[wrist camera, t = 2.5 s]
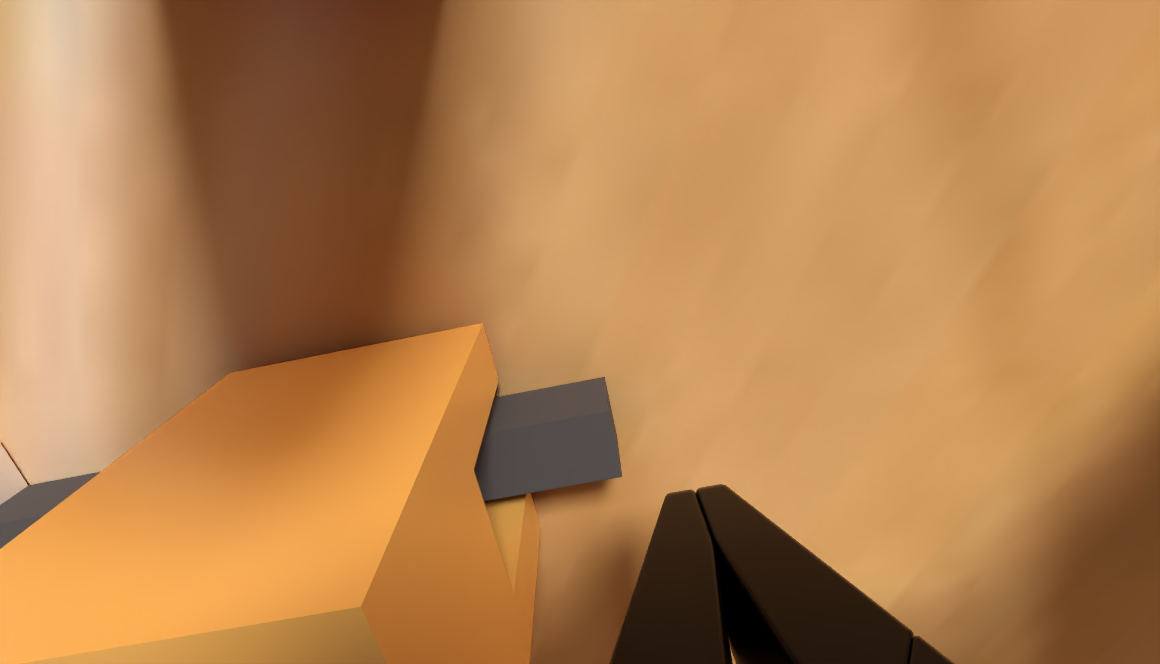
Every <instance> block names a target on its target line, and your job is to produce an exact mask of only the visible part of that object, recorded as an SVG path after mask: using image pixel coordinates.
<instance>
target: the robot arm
mask: <svg viewBox="0 0 1160 664" xmlns="http://www.w3.org/2000/svg"><path fill="white" fill-rule="evenodd" d="M729 643H730V644H729ZM730 647H731V650H732V653H733V656H734V659H735V662H736V664H954V663H953V662H952V661H950V660H949V659H948V658H946V657H945V656H944V655H943V654H941V653H940V652H939V651H937V650H936V649H935V648H934V647H932V646H931V645H930V644H929V643H927V642H926V641H925V640H923V639H922V638H921V637H919V636H914V634H913V632H912V631H911V630H910V629H909V628H908V627H906V626H905V625H904V624H903V623H901V622H900V621H899V620H897V619H896V618H895V617H894V616H892V615H891V614H890V613H888V612H887V611H886V610H885V609H883V608H882V607H881V606H879V605H878V604H877V603H876V602H874V601H873V600H872V599H871V598H869V597H868V596H867V595H865V594H864V593H863V592H862V591H860V590H859V589H858V588H856V587H855V586H854V585H853V584H851V583H850V582H849V581H847V580H846V579H845V578H844V577H842V576H841V575H840V574H839V573H837V572H836V571H835V570H833V569H832V568H831V567H830V566H828V565H827V564H826V563H824V562H823V561H822V560H821V559H819V558H818V557H817V556H815V555H814V554H813V553H812V552H810V551H809V550H808V549H807V548H805V547H804V546H803V545H801V544H800V543H799V542H798V541H796V540H795V539H794V538H792V537H791V536H790V535H789V534H787V533H786V532H785V531H783V530H782V529H781V528H780V527H778V526H777V525H776V524H775V523H773V522H772V521H771V520H769V519H768V518H767V517H766V516H764V515H763V514H762V513H760V512H759V511H758V510H757V509H755V508H754V507H753V506H751V505H750V504H749V503H748V502H746V501H745V500H744V499H743V498H741V497H740V496H739V495H737V494H736V493H735V492H734V491H732V490H731V489H730V488H728V487H727V486H726V485H723V484H719V485H713V486H707V487H702V488H698V489H697V491H696V493H695V492H694V491H693V490H684V491H679V492H673V493H669V494H667V495H666V497H665V499H664V502H663V505H662V508H661V511H660V514H659V517H658V520H657V523H656V526H655V529H654V532H653V535H652V538H651V541H650V544H649V547H648V550H647V553H646V556H645V559H644V562H643V565H642V567H641V570H640V573H639V576H638V579H637V582H636V585H635V588H634V591H633V594H632V597H631V600H630V603H629V606H628V609H627V612H626V615H625V618H624V621H623V624H622V627H621V630H620V633H619V636H618V639H617V642H616V645H615V648H614V651H613V654H612V657H611V660H610V663H609V664H733V663H732V657H731V650H730Z"/></svg>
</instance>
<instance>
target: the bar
mask: <svg viewBox="0 0 1160 664" xmlns="http://www.w3.org/2000/svg"><path fill="white" fill-rule="evenodd" d="M474 472H475V476H476V479H477V482H478V485H479V488H480V491H481V494H482V497H483V501H487V500H493V499H499V498H504V497H510V496H516V495H521V494H527V493H533V492H538V491H544V490H550V489H555V488H561V487H567V486H572V485H578V484H584V483H589V482H595V481H601V480H606V479H612V478H618V477H622V472H621V464H620V456H619V448H618V441H617V434H616V430H615V425H614V420H613V415H612V411H611V406H610V401H609V396H608V391H607V387H606V382H605V377H602V378H597V379H592V380H586V381H581V382H576V383H570V384H565V385H560V386H555V387H549V388H544V389H539V390H533V391H528V392H523V393H517V394H512V395H507V396H501V397H496V398H494V399H493V403H492V407H491V410H490V414H489V417H488V421H487V424H486V428H485V432H484V435H483V439H482V442H481V446H480V449H479V453H478V457H477V460H476V464H475V467H474ZM99 473H100V472H98V473H92V474H87V475H82V476H77V477H71V478H66V479H61V480H55V481H50V482H45V483H39V484H34V485H29V486H27V487H26V488H24V489H23V490H21V491H20V492H18V493H17V494H15V495H14V496H12V497H11V498H10V499H8V500H7V501H5V502H4V503H2V504H1V505H0V549H1V548H2V547H4V546H5V545H6V544H8V543H9V542H10V541H11V540H13V539H14V538H15V537H17V536H18V535H19V534H21V533H22V532H23V531H24V530H26V529H27V528H28V527H30V526H31V525H32V524H34V523H35V522H36V521H38V520H39V519H40V518H41V517H43V516H44V515H45V514H47V513H48V512H49V511H51V510H52V509H53V508H55V507H56V506H57V505H58V504H60V503H61V502H62V501H64V500H65V499H66V498H68V497H69V496H70V495H71V494H73V493H74V492H75V491H77V490H78V489H79V488H81V487H82V486H83V485H85V484H86V483H87V482H88V481H90V480H91V479H92V478H94V477H95V476H96V475H98V474H99Z"/></svg>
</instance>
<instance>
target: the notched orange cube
mask: <svg viewBox="0 0 1160 664" xmlns="http://www.w3.org/2000/svg"><path fill="white" fill-rule="evenodd" d="M498 382H499V378H498V375H497V371H496V368H495V364H494V361H493V357H492V354H491V350H490V347H489V343H488V339H487V336H486V332H485V329H484V325H483V323H480V324H475V325H470V326H465V327H460V328H455V329H450V330H445V331H440V332H435V333H430V334H425V335H419V336H414V337H409V338H404V339H399V340H394V341H389V342H384V343H379V344H374V345H369V346H364V347H359V348H354V349H348V350H343V351H338V352H333V353H328V354H323V355H318V356H313V357H308V358H303V359H298V360H293V361H288V362H282V363H277V364H272V365H267V366H262V367H257V368H252V369H247V370H242V371H237V372H232V373H229V374H228V375H227V376H225V377H224V378H223V379H222V380H220V381H219V382H218V383H216V384H215V385H214V386H212V387H211V388H210V389H209V390H207V391H206V392H205V393H203V394H202V395H201V396H199V397H198V398H197V399H195V400H194V401H193V402H192V403H190V404H189V405H188V406H186V407H185V408H184V409H182V410H181V411H180V412H178V413H177V414H176V415H175V416H173V417H172V418H171V419H169V420H168V421H167V422H165V423H164V424H163V425H162V426H160V427H159V428H158V429H156V430H155V431H154V432H152V433H151V434H150V435H148V436H147V437H146V438H145V439H143V440H142V441H141V442H139V443H138V444H137V445H135V446H134V447H133V448H132V449H130V450H129V451H128V452H126V453H125V454H124V455H122V456H121V457H120V458H118V459H117V460H116V461H115V462H113V463H112V464H111V465H109V466H108V467H107V468H105V469H104V470H103V471H101V472H100V473H99V474H98V475H96V476H95V477H94V478H92V479H91V480H90V481H88V482H87V483H86V484H85V485H83V486H82V487H81V488H79V489H78V490H77V491H75V492H74V493H73V494H71V495H70V496H69V497H68V498H66V499H65V500H64V501H62V502H61V503H60V504H58V505H57V506H56V507H55V508H53V509H52V510H51V511H49V512H48V513H47V514H45V515H44V516H43V517H41V518H40V519H39V520H38V521H36V522H35V523H34V524H32V525H31V526H30V527H28V528H27V529H26V530H24V531H23V532H22V533H21V534H19V535H18V536H17V537H15V538H14V539H13V540H11V541H10V542H9V543H8V544H6V545H5V546H4V547H2V548H1V549H0V664H530V652H531V640H532V628H533V616H534V603H535V591H536V579H537V567H538V554H539V542H540V530H541V527H540V524H539V520H538V517H537V513H536V509H535V506H534V502H533V499H532V495H531V493H527V494H521V495H516V496H510V497H504V498H499V499H493V500H487V501H483V497H482V494H481V491H480V488H479V485H478V482H477V479H476V476H475V472H474V467H475V464H476V460H477V457H478V453H479V449H480V446H481V442H482V439H483V435H484V432H485V428H486V424H487V421H488V417H489V414H490V410H491V407H492V403H493V399H494V396H495V392H496V389H497V385H498Z"/></svg>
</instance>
